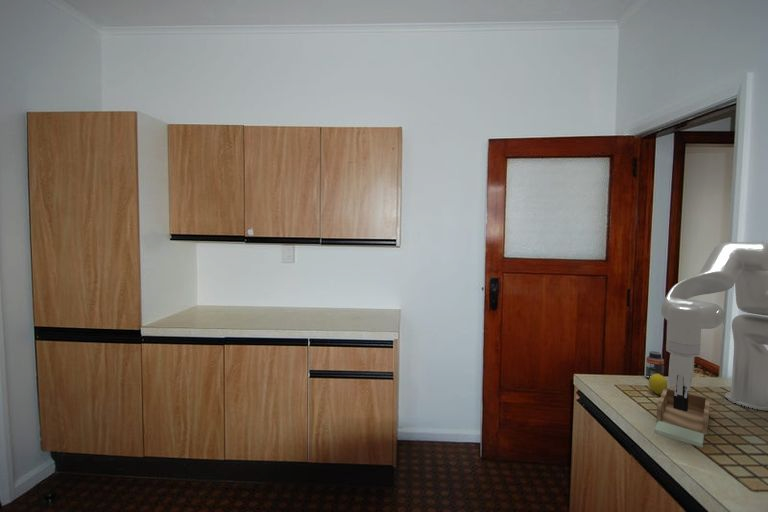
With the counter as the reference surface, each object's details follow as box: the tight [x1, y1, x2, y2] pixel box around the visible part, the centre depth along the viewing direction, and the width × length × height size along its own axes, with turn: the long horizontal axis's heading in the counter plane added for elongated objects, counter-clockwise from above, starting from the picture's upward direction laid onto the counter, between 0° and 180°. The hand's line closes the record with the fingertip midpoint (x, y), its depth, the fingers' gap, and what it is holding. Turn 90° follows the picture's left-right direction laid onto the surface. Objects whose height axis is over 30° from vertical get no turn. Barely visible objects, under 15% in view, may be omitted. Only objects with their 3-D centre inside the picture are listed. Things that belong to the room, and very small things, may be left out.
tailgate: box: [654, 421, 705, 448], centre depth 108 cm, size 2×11×8 cm
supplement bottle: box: [645, 350, 665, 380], centre depth 150 cm, size 6×6×11 cm
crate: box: [655, 387, 711, 437], centre depth 118 cm, size 18×12×6 cm, turn 136°
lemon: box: [648, 373, 668, 395], centre depth 136 cm, size 6×6×8 cm
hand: (680, 408), depth 105 cm, fingers closed
